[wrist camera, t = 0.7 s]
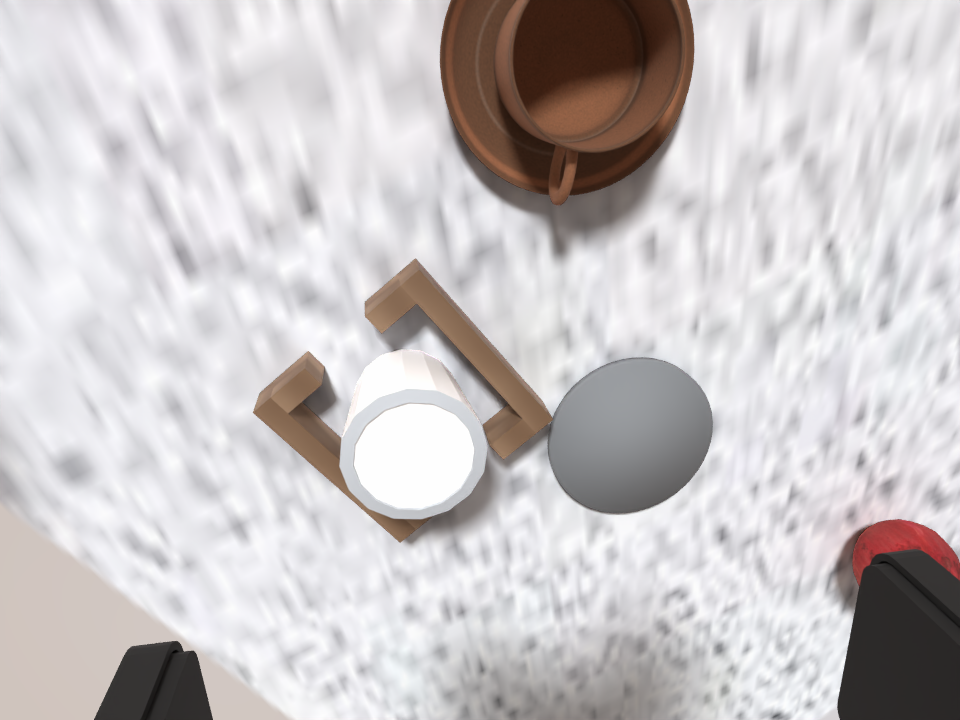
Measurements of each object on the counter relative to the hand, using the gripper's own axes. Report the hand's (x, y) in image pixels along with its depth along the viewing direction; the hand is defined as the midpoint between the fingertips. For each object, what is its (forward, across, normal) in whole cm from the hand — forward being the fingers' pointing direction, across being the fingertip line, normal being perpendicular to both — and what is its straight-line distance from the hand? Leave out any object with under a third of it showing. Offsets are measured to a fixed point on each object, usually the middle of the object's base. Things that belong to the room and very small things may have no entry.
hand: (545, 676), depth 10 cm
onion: (+29, -28, +22) cm, 46 cm away
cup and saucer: (+28, -7, -9) cm, 31 cm away
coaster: (+28, -11, +12) cm, 33 cm away
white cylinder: (+28, +2, +8) cm, 29 cm away
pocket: (+28, +2, +8) cm, 29 cm away
